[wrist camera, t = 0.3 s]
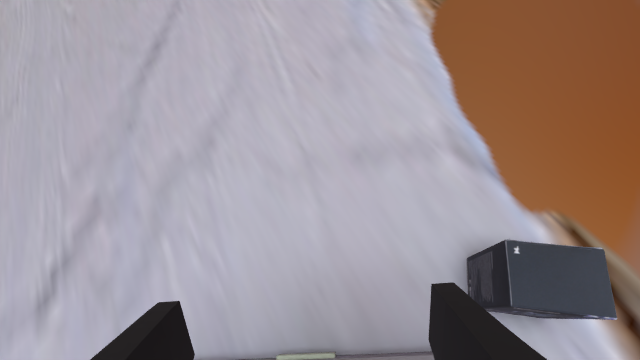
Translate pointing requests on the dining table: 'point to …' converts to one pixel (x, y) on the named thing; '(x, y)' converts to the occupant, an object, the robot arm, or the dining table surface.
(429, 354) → the button panel
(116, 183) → the dining table surface
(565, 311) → the box
